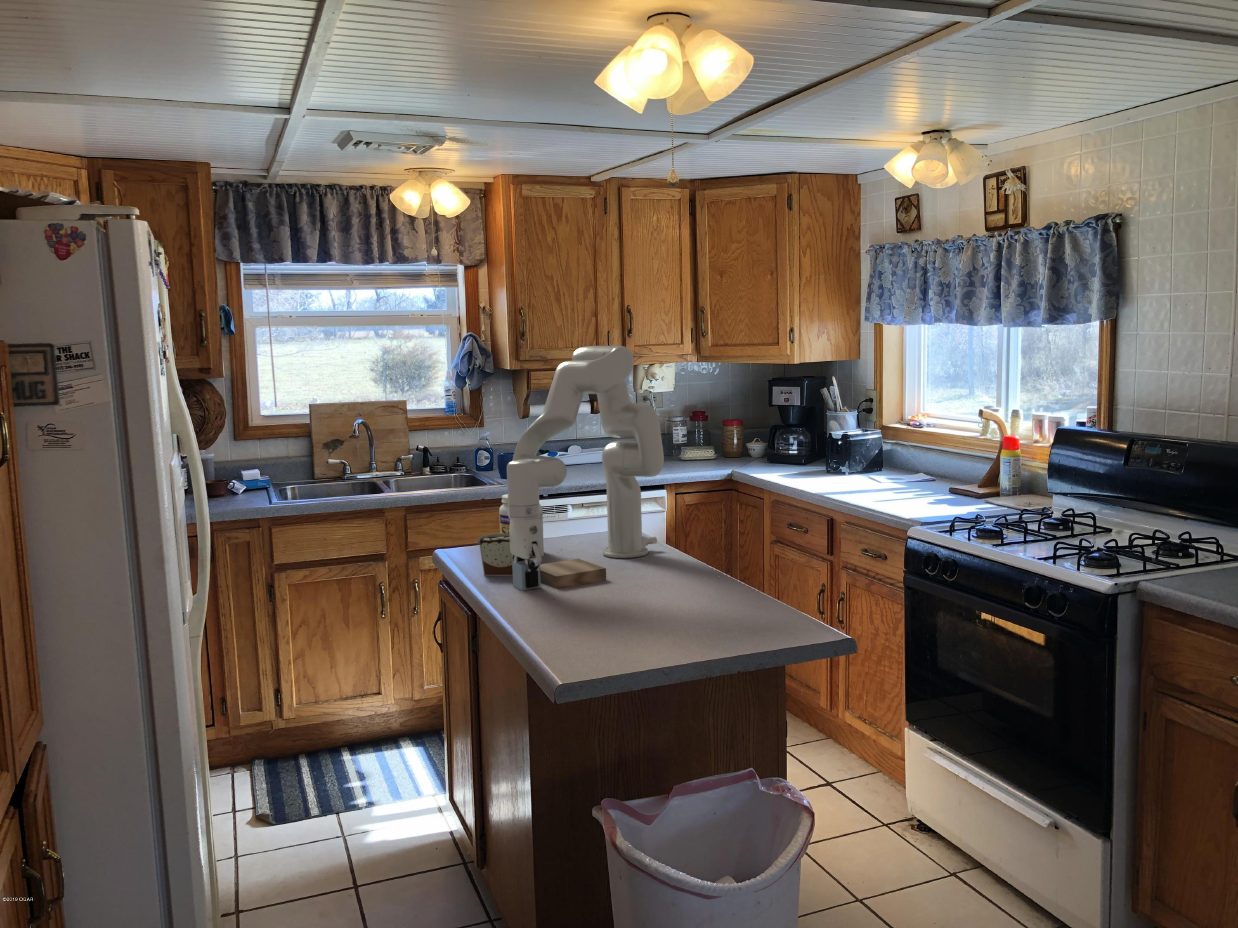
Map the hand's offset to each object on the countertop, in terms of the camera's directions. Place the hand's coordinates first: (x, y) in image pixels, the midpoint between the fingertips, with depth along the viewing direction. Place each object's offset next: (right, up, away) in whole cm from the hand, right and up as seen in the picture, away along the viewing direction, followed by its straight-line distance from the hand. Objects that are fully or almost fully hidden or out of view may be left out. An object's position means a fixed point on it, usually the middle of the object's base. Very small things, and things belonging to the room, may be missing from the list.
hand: (526, 584), depth 242 cm
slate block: (0, -1, 0) cm, 1 cm away
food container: (-7, +1, +16) cm, 17 cm away
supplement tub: (-5, +4, +38) cm, 38 cm away
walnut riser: (+10, 0, +7) cm, 12 cm away
